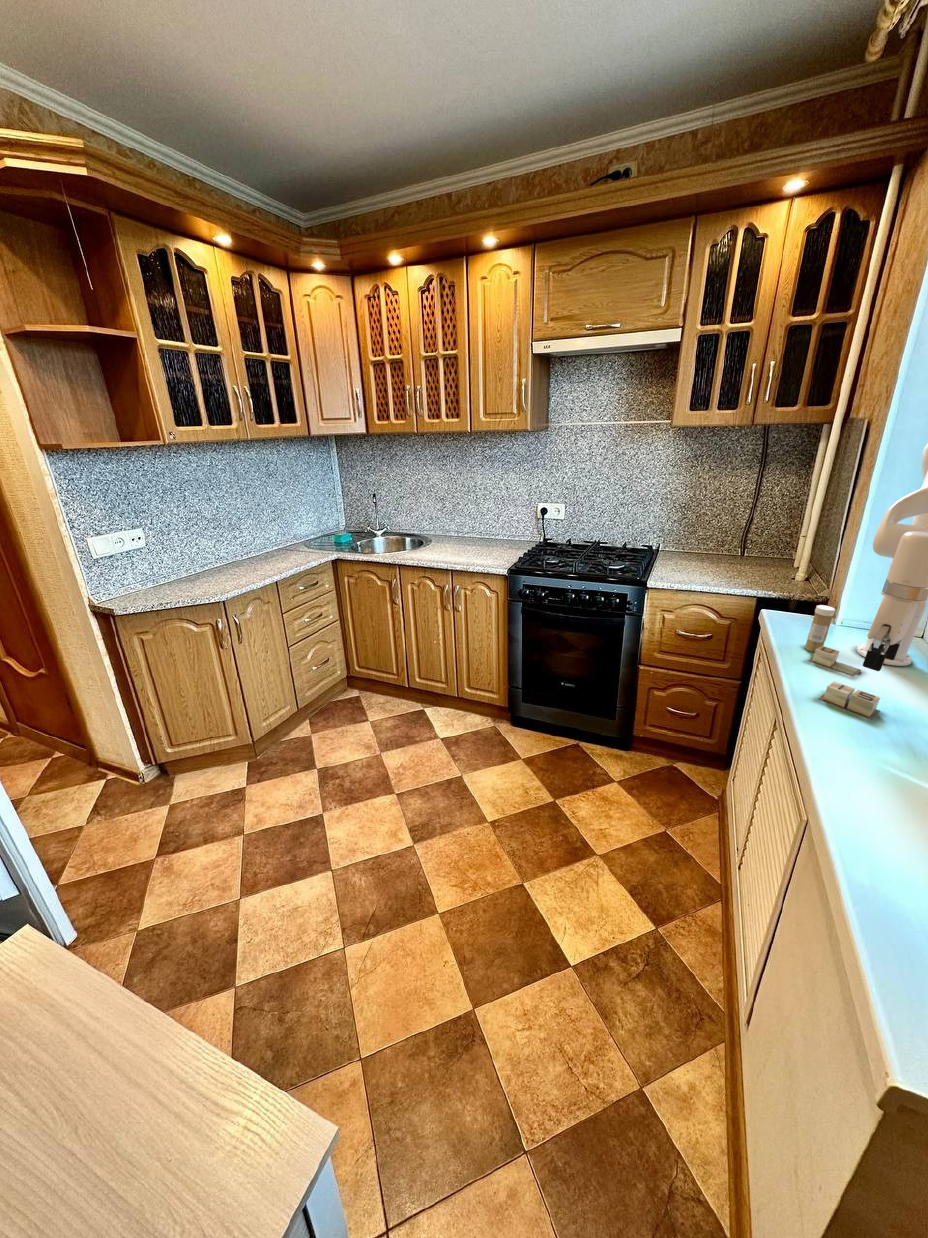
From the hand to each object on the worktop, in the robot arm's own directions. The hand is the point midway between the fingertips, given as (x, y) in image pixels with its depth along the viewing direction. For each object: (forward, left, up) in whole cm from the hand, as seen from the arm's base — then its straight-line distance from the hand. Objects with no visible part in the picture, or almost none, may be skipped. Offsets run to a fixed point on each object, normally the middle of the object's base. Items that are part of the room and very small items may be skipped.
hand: (878, 663), depth 114 cm
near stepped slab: (0, -3, -13) cm, 13 cm away
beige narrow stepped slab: (-21, -13, -13) cm, 28 cm away
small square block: (0, 0, -12) cm, 12 cm away
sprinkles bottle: (-29, -21, -13) cm, 38 cm away
